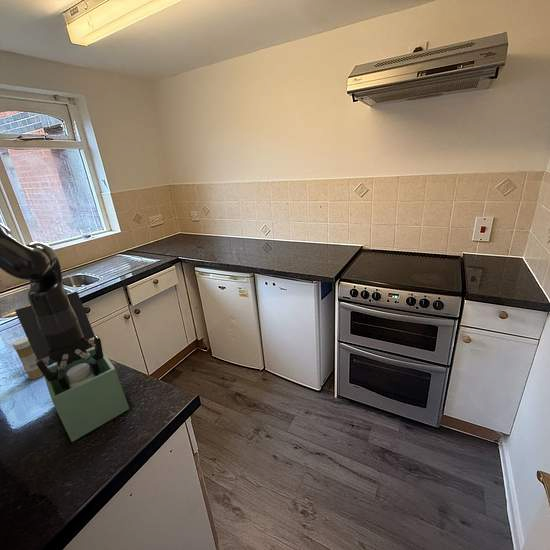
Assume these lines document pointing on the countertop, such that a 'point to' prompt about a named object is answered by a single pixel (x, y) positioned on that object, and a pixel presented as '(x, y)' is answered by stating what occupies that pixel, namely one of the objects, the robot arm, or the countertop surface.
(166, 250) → the countertop surface
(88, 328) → the pod lid
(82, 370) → the pill bottle
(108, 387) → the mint green storage bin
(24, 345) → the sprinkles bottle
